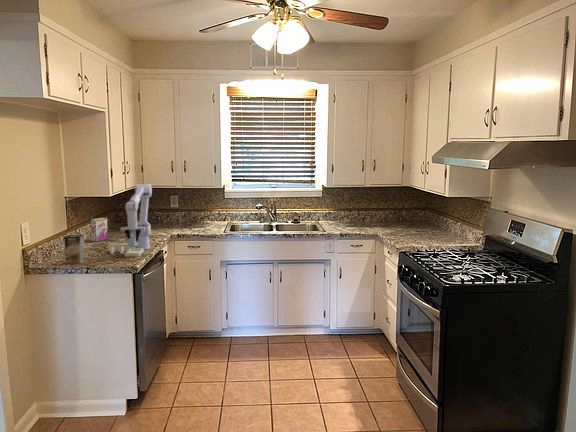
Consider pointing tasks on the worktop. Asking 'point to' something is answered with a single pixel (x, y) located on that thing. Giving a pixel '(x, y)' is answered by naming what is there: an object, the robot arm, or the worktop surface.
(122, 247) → the stand
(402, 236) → the worktop surface
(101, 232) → the candy bar box
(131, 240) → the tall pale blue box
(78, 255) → the coffee box
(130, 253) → the tray
